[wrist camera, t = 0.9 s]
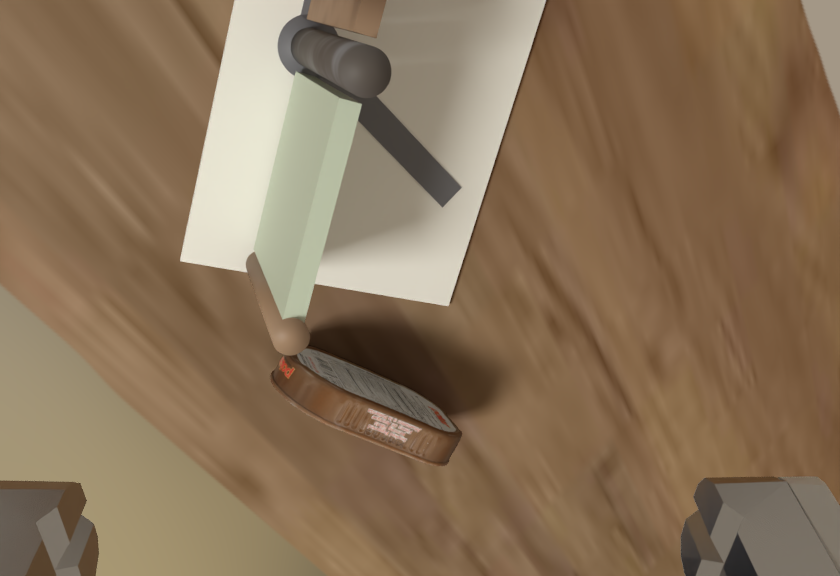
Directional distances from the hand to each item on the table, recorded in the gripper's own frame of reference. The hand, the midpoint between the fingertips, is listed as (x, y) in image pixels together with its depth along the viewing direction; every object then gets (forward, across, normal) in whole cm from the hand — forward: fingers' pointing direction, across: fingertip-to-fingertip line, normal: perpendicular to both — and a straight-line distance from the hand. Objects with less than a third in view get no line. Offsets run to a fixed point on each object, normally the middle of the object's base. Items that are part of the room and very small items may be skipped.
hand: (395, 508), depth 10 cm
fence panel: (+39, +7, +14) cm, 42 cm away
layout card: (+43, +1, +10) cm, 44 cm away
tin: (+38, +2, +30) cm, 49 cm away
